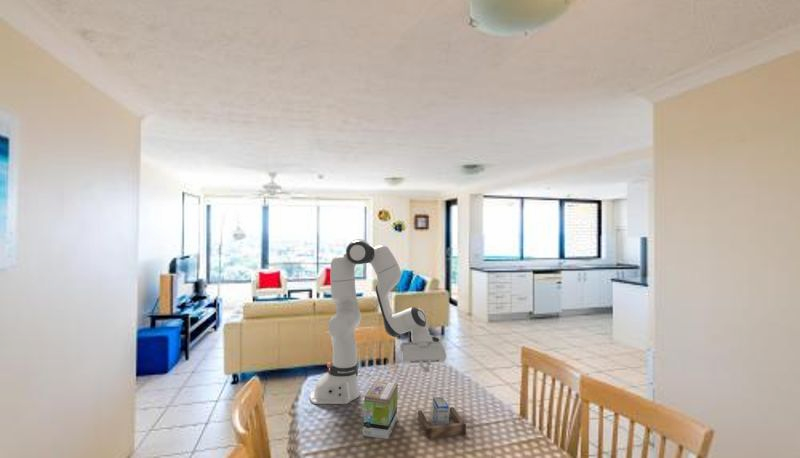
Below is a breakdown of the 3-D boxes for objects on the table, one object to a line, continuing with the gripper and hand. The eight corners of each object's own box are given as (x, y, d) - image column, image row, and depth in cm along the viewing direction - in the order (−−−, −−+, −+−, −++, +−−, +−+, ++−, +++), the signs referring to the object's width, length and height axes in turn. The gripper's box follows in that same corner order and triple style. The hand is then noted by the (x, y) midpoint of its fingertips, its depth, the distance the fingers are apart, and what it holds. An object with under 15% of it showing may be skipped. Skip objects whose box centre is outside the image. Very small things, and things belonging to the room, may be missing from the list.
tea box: (389, 440, 133) (389, 399, 133) (362, 436, 135) (363, 396, 135) (397, 418, 147) (398, 382, 147) (373, 415, 149) (374, 379, 149)
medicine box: (432, 418, 148) (432, 397, 148) (442, 417, 149) (443, 396, 149) (437, 429, 140) (438, 406, 140) (448, 428, 141) (449, 405, 141)
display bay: (427, 438, 134) (427, 428, 134) (417, 419, 147) (417, 410, 147) (465, 433, 137) (465, 424, 137) (452, 415, 150) (453, 407, 150)
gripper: (400, 339, 165) (404, 369, 156) (444, 338, 170) (450, 367, 160) (398, 345, 170) (401, 375, 160) (440, 344, 174) (446, 373, 164)
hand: (426, 371), depth 160 cm, fingers closed
